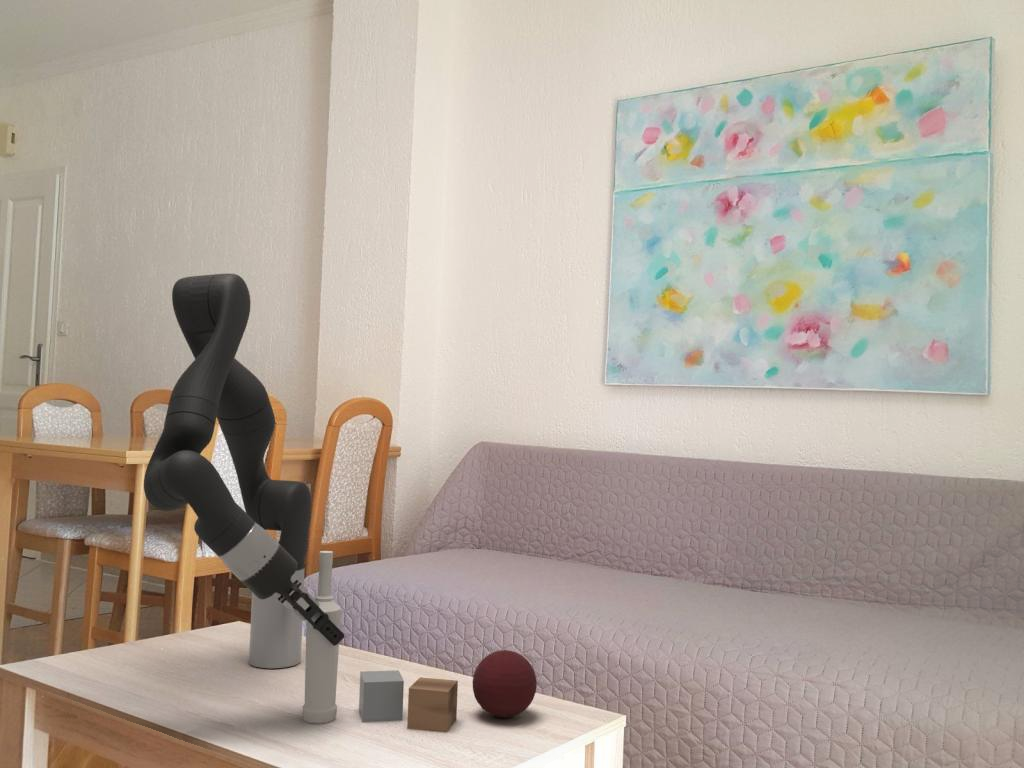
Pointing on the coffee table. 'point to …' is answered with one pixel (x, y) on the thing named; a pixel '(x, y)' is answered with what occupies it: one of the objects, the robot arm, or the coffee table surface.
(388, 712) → the slate grey cube
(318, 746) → the coffee table surface
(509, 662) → the decorative ball
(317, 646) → the bottle
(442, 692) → the walnut cube
